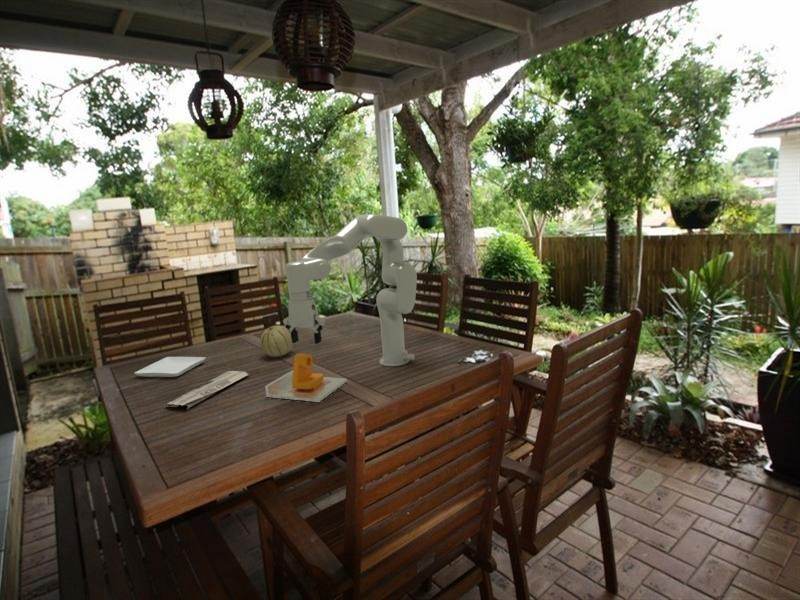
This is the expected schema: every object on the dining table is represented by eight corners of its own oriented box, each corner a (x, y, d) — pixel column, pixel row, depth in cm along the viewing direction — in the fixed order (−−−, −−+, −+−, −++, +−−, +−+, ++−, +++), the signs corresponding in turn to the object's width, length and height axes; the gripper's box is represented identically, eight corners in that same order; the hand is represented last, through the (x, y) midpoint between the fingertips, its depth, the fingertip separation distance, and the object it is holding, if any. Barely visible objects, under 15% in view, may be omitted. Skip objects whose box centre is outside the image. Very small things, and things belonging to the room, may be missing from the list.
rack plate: (347, 382, 174) (346, 371, 173) (319, 403, 155) (318, 391, 155) (298, 378, 182) (296, 367, 181) (266, 398, 164) (265, 386, 163)
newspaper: (226, 375, 193) (225, 367, 192) (252, 376, 189) (251, 368, 188) (161, 411, 159) (160, 401, 159) (191, 413, 156) (189, 403, 155)
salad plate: (177, 380, 191) (176, 372, 190) (134, 379, 195) (132, 372, 194) (208, 363, 211) (207, 356, 210) (168, 363, 215) (166, 356, 215)
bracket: (310, 391, 162) (306, 359, 160) (292, 390, 165) (288, 358, 163) (324, 380, 172) (321, 350, 170) (308, 379, 175) (304, 349, 172)
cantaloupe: (298, 351, 220) (295, 320, 217) (288, 360, 206) (284, 328, 203) (269, 352, 222) (265, 322, 219) (257, 361, 207) (252, 329, 205)
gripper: (326, 293, 162) (332, 339, 166) (286, 294, 168) (292, 338, 172) (315, 298, 155) (322, 346, 159) (273, 298, 162) (280, 345, 165)
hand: (306, 342), depth 165 cm, fingers open, 9 cm apart
